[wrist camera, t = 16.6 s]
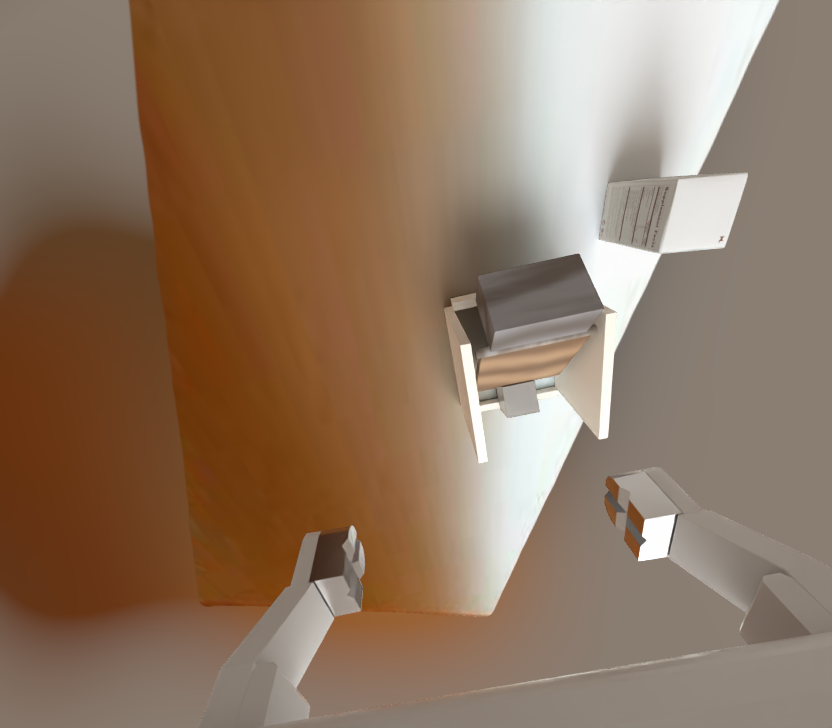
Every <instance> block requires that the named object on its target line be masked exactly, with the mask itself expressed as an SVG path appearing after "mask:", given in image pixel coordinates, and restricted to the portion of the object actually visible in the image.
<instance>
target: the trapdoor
mask: <svg viewBox="0 0 832 728" xmlns="http://www.w3.org/2000/svg"><path fill="white" fill-rule="evenodd" d="M476 304H477V307H478V310H479V314H480V317H481V321H482V324H483V328H484V331H485V334H486V338H487V341H488V345H489V346H488V347H483V348H478V349H475V354H476V358H477V359H478V363H477V370H476V384H477V391H478V392H479V391H484V390H489V389H494V388H498V387H503V386H508V385H513V384H518V383H523V382H527V381H532V380H537V379H542V378H547V377H552V376H557V375H560V373H561V372H562V371H563V370H564V368H565V367H566V366H567V365H568V363H569V362H570V361H571V360H572V358H573V357H574V356H575V355H576V353H577V352H578V351H579V350H580V348H581V347H582V346H583V345H584V343H585V342H586V341H587V340H588V339H589V337H590V336H591V335H594V334H597V333H598V328H597V326H596V324H593V323H594V321H595V320H596V319H597V317H598V316H599V315H600V314H601V312H602V311H603V310H604V306H603V304H602V302H601V300H600V298H599V296H598V294H597V291H596V289H595V287H594V285H593V283H592V281H591V278H590V276H589V274H588V272H587V270H586V268H585V266H584V263H583V261H582V259H581V257H580V255H579V254H574V255H569V256H565V257H560V258H556V259H551V260H547V261H542V262H538V263H533V264H529V265H524V266H520V267H515V268H511V269H506V270H502V271H497V272H492V273H488V274H483V275H479V276H478V279H477V291H476Z"/></svg>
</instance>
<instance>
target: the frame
mask: <svg viewBox="0 0 832 728" xmlns="http://www.w3.org/2000/svg"><path fill="white" fill-rule="evenodd" d="M450 299H451V305H452V306H450V307H445V308H444V312H445V318H446V323H447V329H448V335H449V340H450V346H451V352H452V358H453V363H454V369H455V375H456V380H457V386H458V392H459V398H460V403H461V408H462V411H463V414H464V417H465V420H466V423H467V427H468V430H469V433H470V436H471V439H472V442H473V446H474V449H475V452H476V455H477V458H478V461H479V463H482V462H487V461H488V460H487V453H486V446H485V439H484V432H483V425H482V419H481V411H486V410H491V409H496V408H500V406H499V400H498V398H496V399H491V400H486V401H481V402H479V398H478V391H477V384H476V377H475V370H474V363H473V356H472V349H471V343H470V341H469V339H468V337H467V335H466V333H465V331H464V329H463V327H462V325H461V323H460V321H459V319H458V318H457V316H456V314H455V312H454V311H457V310H462V309H466V308H471V307H476V306H477V304H476V293H473V294H468V295H464V296H459V297H455V298H450ZM603 306H604V305H603ZM616 317H617V312H615V311H614V310H612V309H610V308H608V307H606V306H604V310H603V311H602V312H601V314H600V315H599V316H598V317H597V319H596V320H595V321H594V323H593V324H596V326H597V328H598V333H597V334H594V335H591V336H590V337H589V339H588V340H587V341H586V342H585V343H584V345H583V346H582V347H581V348H580V350H579V351H578V352H577V353H576V355H575V356H574V357H573V358H572V360H571V361H570V362H569V363H568V365H567V366H566V367H565V368H564V370H563V371H562V372H561V373H560V375H557V376H555V386H554V387H549V388H544V389H540V390H536V393H537V399H538V400H540V399H545V398H550V397H555V396H558V391H559V392H560V393H561V394H562V396H563V397H564V398H565V399H566V400H567V402H568V403H569V404H570V405H571V406H572V408H573V409H574V410H575V411H576V412H577V414H578V415H579V416H580V417H581V418H582V420H583V421H584V422H585V423H586V424H587V426H588V427H589V428H590V429H591V430H592V432H593V433H594V434H595V435H596V436H597V438H598V439H603V438H608V428H609V415H610V400H611V387H612V373H613V358H614V345H615V331H616Z"/></svg>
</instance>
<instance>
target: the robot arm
mask: <svg viewBox="0 0 832 728" xmlns="http://www.w3.org/2000/svg"><path fill="white" fill-rule="evenodd" d="M606 486H607V488H608V489H609V491H608V492H607V493H606V495H605V506H606V510H607V513H608V515H609V517H610V519H611V521H612V522H613V524H614V525H615V526H616V527H617V528H619V529H621V530H622V531H624V532H625V538H624V540H625V542H626V543H627V545H628V546H629V548H630V549H631V551H632V552H633V554H634V555H635V557H636V558H637V560H638V561H642V560H648V559H655V558H662V557H669V559H670V560H672V561H673V562H675V563H676V564H678V565H679V566H680V567H682V568H683V569H685V570H686V571H688V572H689V573H690V574H692V575H693V576H695V577H696V578H698V579H699V580H700V581H702V582H703V583H705V584H706V585H707V586H709V587H710V588H712V589H713V590H715V591H716V592H718V593H719V594H720V595H722V596H723V597H724V598H726V599H727V600H729V601H730V602H732V603H733V604H734V605H736V606H737V607H739V608H740V609H742V610H743V611H744V612H746V615H745V618H744V620H743V622H742V625H741V627H740V631H739V634H740V635H741V637H742V638H743V639H744V641H745V642H746V643H747V644H748V645H745V646H739V647H733V648H727V649H721V650H715V651H709V652H703V653H697V654H691V655H685V656H679V657H673V658H667V659H662V660H655V661H650V662H643V663H637V664H632V665H625V666H619V667H613V668H607V669H602V670H596V671H589V672H583V673H578V674H572V675H566V676H560V677H553V678H548V679H541V680H535V681H529V682H523V683H518V684H512V685H506V686H500V687H494V688H488V689H482V690H476V691H470V692H464V693H458V694H452V695H446V696H440V697H434V698H428V699H422V700H416V701H410V702H404V703H398V704H392V705H386V706H380V707H374V708H368V709H363V710H356V711H351V712H345V713H339V714H333V715H327V716H321V717H315V718H309V719H308V717H309V710H310V706H309V704H308V702H307V701H306V699H305V698H304V697H303V696H302V695H301V694H300V692H299V691H298V690H297V689H296V687H297V686H298V684H299V682H300V680H301V678H302V676H303V675H304V673H305V671H306V669H307V667H308V665H309V664H310V662H311V660H312V658H313V656H314V655H315V653H316V651H317V649H318V647H319V645H320V644H321V641H322V640H323V638H324V636H325V634H326V632H327V631H328V629H329V627H330V625H331V623H332V622H333V620H334V617H335V616H340V615H344V614H349V613H354V612H358V611H361V605H362V593H363V587H362V585H361V582H360V578H361V577H362V575H363V574H364V567H365V560H364V551H363V547H362V544H361V542H360V541H359V540H357V539H356V531H355V529H354V526H349V527H343V528H337V529H331V530H324V531H319V532H313V533H308V534H306V535H305V537H304V539H303V542H302V545H301V549H300V553H299V557H298V560H297V564H296V568H295V572H294V575H293V579H292V583H291V586H290V587H286V588H285V589H284V590H283V592H282V593H281V594H280V595H279V597H278V598H277V599H276V600H275V602H274V603H273V604H272V605H271V607H270V608H269V609H268V610H267V612H266V613H265V614H264V615H263V617H262V618H261V619H260V620H259V622H258V623H257V624H256V625H255V627H254V628H253V629H252V630H251V632H250V633H249V634H248V635H247V637H246V638H245V639H244V640H243V642H242V643H241V644H240V645H239V647H238V648H237V649H236V650H235V652H234V653H233V654H232V655H231V657H230V658H229V659H228V660H227V662H226V663H225V664H224V665H223V667H222V668H221V669H220V671H219V674H218V677H217V680H216V682H215V685H214V688H213V690H212V693H211V696H210V699H209V701H208V704H207V707H206V709H205V712H204V715H203V717H202V720H201V723H200V726H199V728H832V570H831V569H830V568H829V567H828V566H826V565H825V564H824V563H822V562H820V561H817V560H815V559H813V558H811V557H809V556H807V555H805V554H802V553H800V552H798V551H796V550H794V549H792V548H790V547H787V546H785V545H783V544H781V543H779V542H776V541H774V540H772V539H770V538H768V537H766V536H764V535H762V534H760V533H757V532H755V531H753V530H751V529H749V528H747V527H745V526H742V525H740V524H738V523H736V522H734V521H732V520H730V519H727V518H725V517H723V516H721V515H719V514H716V513H715V512H713V511H710V510H708V509H707V510H702V509H701V508H700V507H699V506H698V505H697V504H696V503H695V502H694V501H693V500H692V499H691V498H690V497H689V496H688V495H687V494H686V493H685V492H684V491H683V490H682V489H681V488H680V487H679V486H678V485H677V484H676V483H675V482H674V481H673V480H672V479H671V478H670V477H669V476H668V475H667V474H666V473H665V471H664V470H663V469H661V468H659V467H654V468H649V469H644V470H637V471H632V472H627V473H622V474H617V475H613V476H608V477H607V479H606Z"/></svg>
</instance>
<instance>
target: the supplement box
mask: <svg viewBox="0 0 832 728" xmlns="http://www.w3.org/2000/svg"><path fill="white" fill-rule="evenodd" d="M747 176H748V173H723V174H707V175H690V176H675V177H663V178H651V179H641V180H631V181H621V182H610V183H608V186H607V192H606V198H605V204H604V210H603V216H602V222H601V229H600V235H599V240H602V241H606V242H611V243H615V244H619V245H624V246H628V247H632V248H636V249H641V250H645V251H649V252H654V253H660V254H662V253H672V252H683V251H696V250H705V249H716V248H724V247H725V244H726V242H727V239H728V236H729V233H730V230H731V227H732V224H733V221H734V218H735V214H736V211H737V208H738V205H739V202H740V199H741V196H742V193H743V189H744V186H745V183H746V180H747Z"/></svg>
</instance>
